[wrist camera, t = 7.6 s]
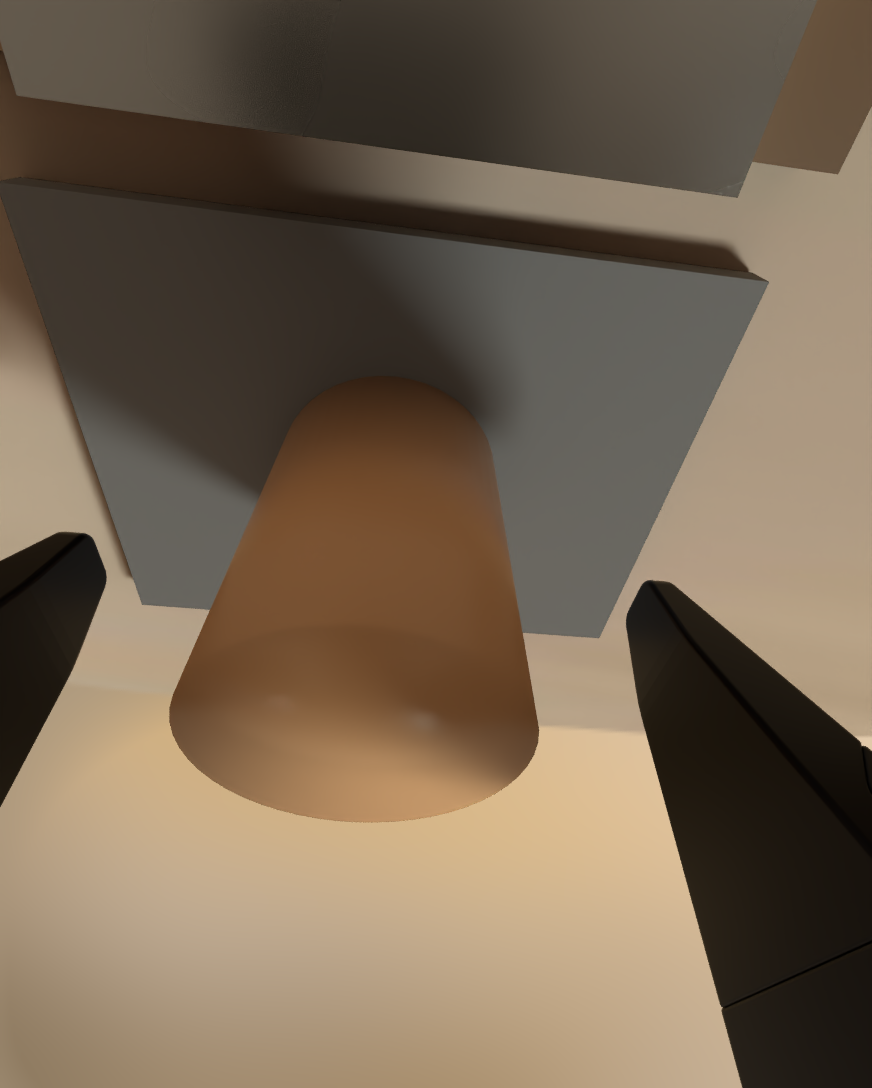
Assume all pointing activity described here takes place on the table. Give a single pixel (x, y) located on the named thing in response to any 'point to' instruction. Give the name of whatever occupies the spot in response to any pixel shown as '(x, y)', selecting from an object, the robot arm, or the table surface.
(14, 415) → the table surface
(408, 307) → the pad
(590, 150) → the clamp jaws
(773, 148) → the board
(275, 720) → the orange-tan rounded capsule
